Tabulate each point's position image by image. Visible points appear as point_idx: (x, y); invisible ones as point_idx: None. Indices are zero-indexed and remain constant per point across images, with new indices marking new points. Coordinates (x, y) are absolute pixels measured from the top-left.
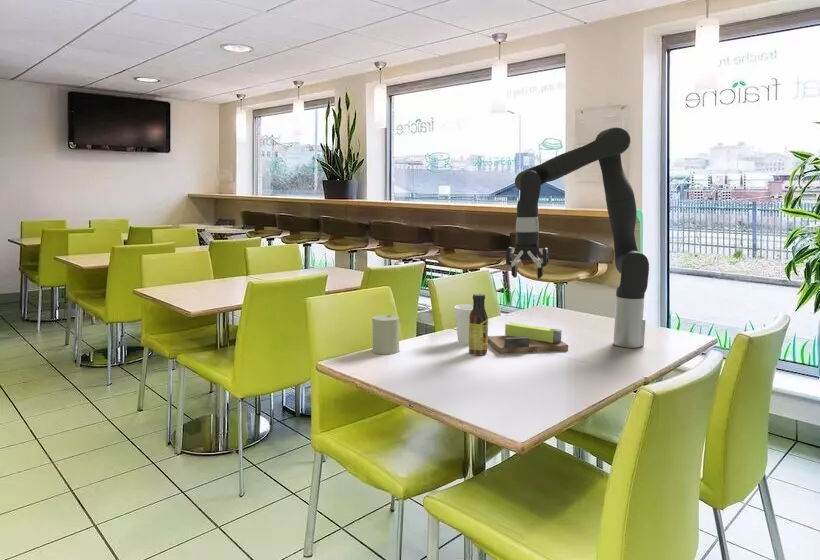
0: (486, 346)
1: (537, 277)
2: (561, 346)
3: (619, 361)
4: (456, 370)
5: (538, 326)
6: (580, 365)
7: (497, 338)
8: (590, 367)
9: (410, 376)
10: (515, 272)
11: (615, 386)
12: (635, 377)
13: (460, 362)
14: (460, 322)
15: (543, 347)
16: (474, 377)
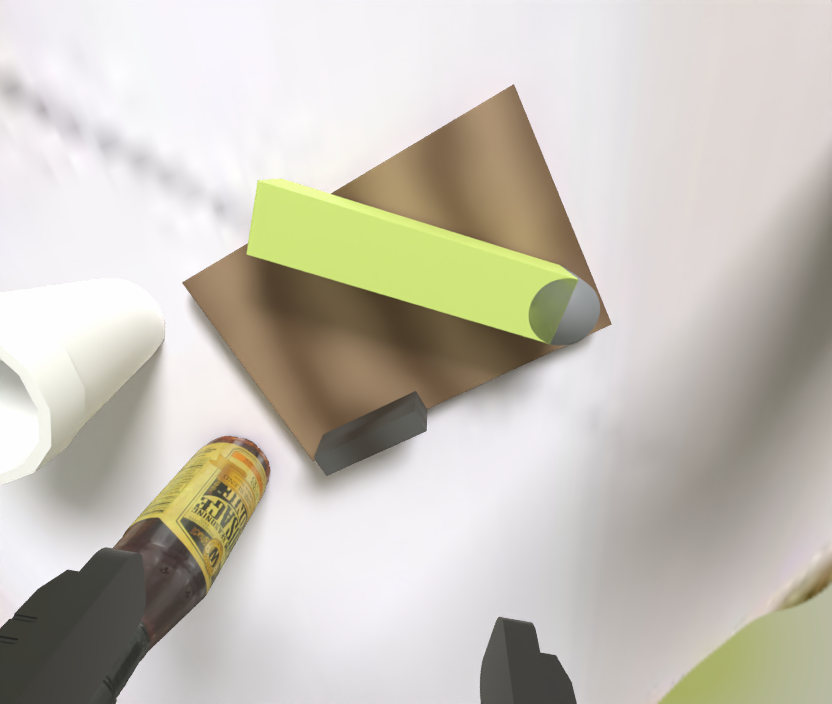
0: (261, 493)
1: (481, 693)
2: None
3: (804, 407)
4: (246, 630)
5: (456, 243)
6: (631, 495)
7: (251, 307)
8: (664, 507)
9: (157, 691)
10: (90, 677)
11: (706, 640)
12: (797, 562)
13: (224, 567)
14: (28, 420)
15: (490, 376)
16: (315, 664)
